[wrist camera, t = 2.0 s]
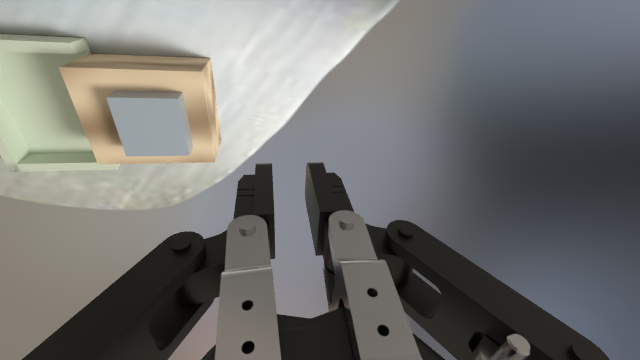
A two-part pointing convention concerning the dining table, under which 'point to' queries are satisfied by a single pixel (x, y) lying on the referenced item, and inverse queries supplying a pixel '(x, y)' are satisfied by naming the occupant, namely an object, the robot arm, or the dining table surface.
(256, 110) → the dining table surface
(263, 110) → the dining table surface
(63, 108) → the tray
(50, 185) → the dining table surface
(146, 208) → the dining table surface
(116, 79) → the cardboard box
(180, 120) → the tile
